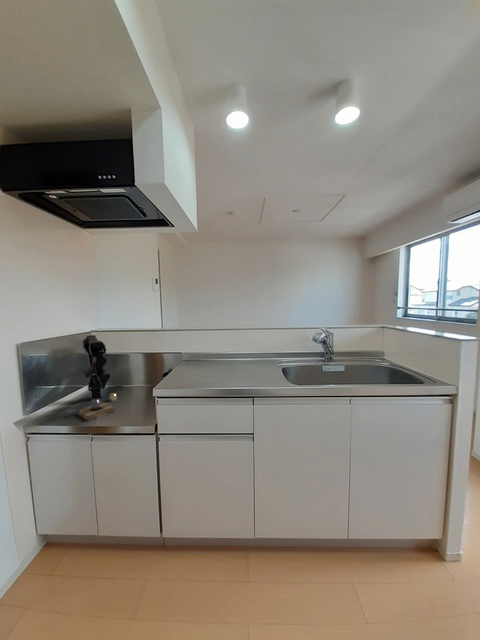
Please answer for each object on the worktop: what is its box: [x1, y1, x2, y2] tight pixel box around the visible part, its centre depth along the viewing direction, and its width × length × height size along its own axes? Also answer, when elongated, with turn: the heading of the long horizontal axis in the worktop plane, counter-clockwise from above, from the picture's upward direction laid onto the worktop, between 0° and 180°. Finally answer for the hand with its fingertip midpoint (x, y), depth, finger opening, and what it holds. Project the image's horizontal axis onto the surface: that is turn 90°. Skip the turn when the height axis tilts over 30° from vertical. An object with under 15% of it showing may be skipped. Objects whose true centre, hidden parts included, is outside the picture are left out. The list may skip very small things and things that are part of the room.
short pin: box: [109, 392, 118, 402], centre depth 168 cm, size 4×4×4 cm
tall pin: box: [90, 398, 101, 412], centre depth 149 cm, size 4×4×8 cm
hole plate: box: [77, 401, 115, 422], centre depth 150 cm, size 14×14×2 cm
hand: (99, 387), depth 159 cm, fingers open, 9 cm apart
